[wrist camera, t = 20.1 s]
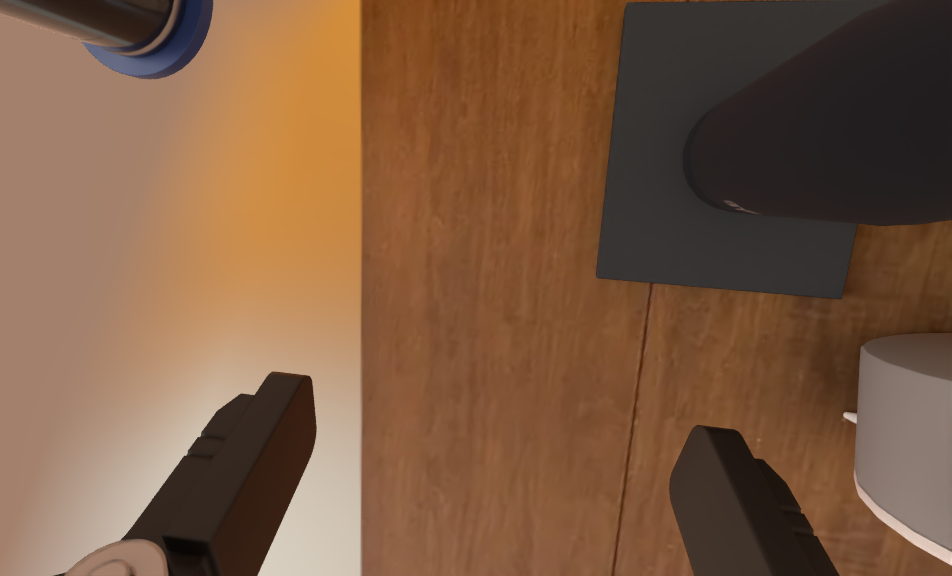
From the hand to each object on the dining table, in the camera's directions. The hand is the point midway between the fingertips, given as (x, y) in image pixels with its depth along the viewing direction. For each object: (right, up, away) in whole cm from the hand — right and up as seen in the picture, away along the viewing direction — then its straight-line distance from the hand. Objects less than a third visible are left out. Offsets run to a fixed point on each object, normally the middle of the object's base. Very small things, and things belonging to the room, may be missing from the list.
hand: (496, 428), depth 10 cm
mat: (+15, +11, +18) cm, 26 cm away
